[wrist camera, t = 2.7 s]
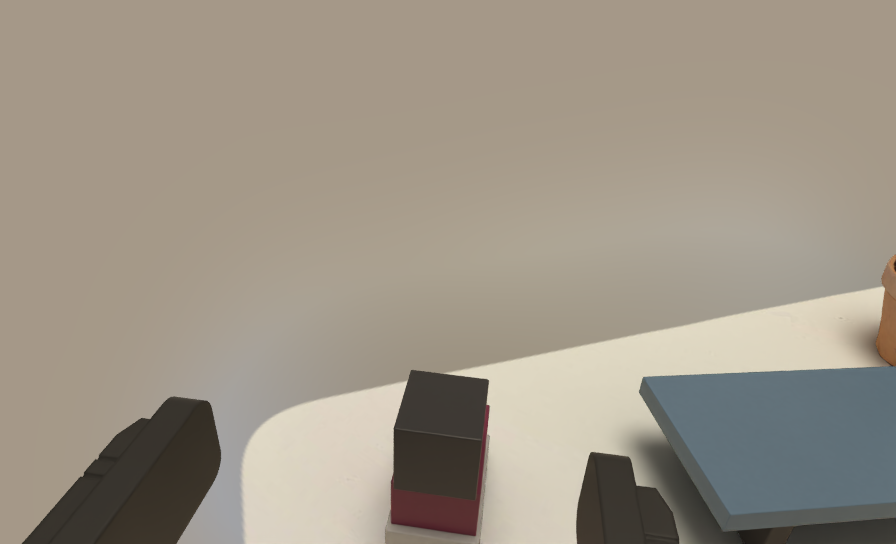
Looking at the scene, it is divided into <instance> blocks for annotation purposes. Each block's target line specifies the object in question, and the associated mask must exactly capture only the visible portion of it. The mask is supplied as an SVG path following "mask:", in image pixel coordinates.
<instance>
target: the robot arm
mask: <svg viewBox="0 0 896 544" xmlns="http://www.w3.org/2000/svg"><path fill="white" fill-rule="evenodd" d="M220 461H221V450H220V445H219V440H218V435H217V431H216V426H215V421H214V416H213V412H212V408H211V405H210V403H209V402H208V401H204V400H196V399H188V398H181V397H170V398H168V399H167V400H166V401H165V402H164V403H163V404H162V405H161V407H160V408H159V409H158V410H157V411H156V413H155V414H154V415H153V416H152V418H151V419H145V418H141V419H139V420H138V421H136V422H135V423H133V424H132V425H130V426H129V427H128V428H126V429H125V430H123V431H122V432H120V433H119V434H117V435H116V436H115V437H114V438H113V440H112V441H111V442H110V443H109V444H108V445H107V446H106V448H105V449H104V450H103V451H102V452H101V453H100V455H99V458H98V460H95V461H94V462H93V463H92V464H91V465H90V466H89V467H88V468H87V470H86V471H85V472H84V476H83V477H80V478H79V479H78V480H77V481H76V482H75V483H74V485H73V486H72V487H71V488H70V489H69V490H68V491H67V493H66V494H65V495H64V496H63V497H62V498H61V499H60V501H59V502H58V503H57V504H56V505H55V507H54V508H53V509H52V510H51V511H50V512H49V513H48V514H47V516H46V517H45V518H44V519H43V520H42V521H41V523H40V524H39V525H38V526H37V527H36V528H35V530H34V531H33V532H32V533H31V534H30V535H29V536H28V538H27V539H26V540H25V541H24V542H23V543H22V544H176V543H177V542H178V540H179V538H180V537H181V535H182V533H183V532H184V530H185V529H186V527H187V525H188V524H189V522H190V520H191V519H192V517H193V515H194V514H195V512H196V510H197V509H198V507H199V505H200V504H201V502H202V500H203V499H204V497H205V495H206V494H207V492H208V490H209V489H210V487H211V486H212V484H213V482H214V480H215V478H216V476H217V473H218V470H219V467H220ZM576 533H577V544H679V536H678V532H677V528H676V524H675V520H674V516H673V512H672V511H671V509H670V508H669V507H668V505H667V504H666V502H665V501H664V499H663V498H662V496H661V495H660V493H659V492H658V491H657V489H656V488H650V487H642V486H636V483H635V478H634V472H633V467H632V463H631V460H630V458H629V457H627V456H619V455H611V454H603V453H596V452H591V453H590V455H589V458H588V463H587V467H586V471H585V476H584V480H583V484H582V489H581V493H580V497H579V502H578V508H577V521H576Z"/></svg>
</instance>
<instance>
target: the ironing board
mask: <svg viewBox="0 0 896 544" xmlns="http://www.w3.org/2000/svg"><path fill="white" fill-rule="evenodd" d="M639 393H640V395H641V396H642V398H643V400H644V401H645V403H646V405H647V406H648V408H649V410H650V411H651V413H652V415H653V416H654V418H655V420H656V421H657V423H658V425H659V426H660V428H661V430H662V431H663V433H664V435H665V436H666V438H667V440H668V441H669V443H670V445H671V446H672V448H673V450H674V451H675V453H676V454H677V456H678V458H679V459H680V461H681V463H682V464H683V466H684V468H685V469H686V471H687V473H688V474H689V476H690V478H691V479H692V481H693V483H694V484H695V486H696V488H697V489H698V491H699V493H700V494H701V496H702V498H703V499H704V501H705V503H706V504H707V506H708V508H709V509H710V511H711V513H712V514H713V516H714V518H715V519H716V521H717V523H718V524H719V526H720V528H721V529H722V531H723V532H725V531H737V532H738V534H739V535H740V537H741V539H742V540H743V542H744V543H745V544H785V543H786V541H787V539H788V537H789V535H790V533H791V531H792V530H793V528H794V526H799V525H812V524H824V523H836V522H849V521H861V520H874V519H886V518H896V366H889V367H866V368H842V369H819V370H795V371H771V372H748V373H724V374H701V375H677V376H653V377H643V379H642V383H641V386H640V390H639Z"/></svg>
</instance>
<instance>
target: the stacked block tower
mask: <svg viewBox="0 0 896 544" xmlns="http://www.w3.org/2000/svg"><path fill="white" fill-rule="evenodd" d="M488 385H489V380H488V379H480V378H472V377H464V376H456V375H448V374H440V373H431V372H424V371H416V370H411V372H410V375H409V379H408V382H407V386H406V389H405V392H404V396H403V399H402V403H401V406H400V409H399V413H398V416H397V419H396V423H395V426H394V473H393V476H392V480H391V510H390V514H389V518H388V521H387V525H386V529H385V544H480V533H481V522H482V512H483V501H484V490H485V480H486V469H487V459H488V448H489V435H487V428H488V418H489V408H490V406H489V405H486V403H487V394H488Z"/></svg>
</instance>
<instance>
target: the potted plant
mask: <svg viewBox="0 0 896 544" xmlns="http://www.w3.org/2000/svg"><path fill="white" fill-rule="evenodd" d="M881 279H882V284H883V286H884V288H885V293H884V300H883V308H882V317H881V323H880V329H879V334H878V337H877V340H876V347H877V349H878V352H879V354H880V356H881V357H882V358H883V359H884V360H886V361H887V362H888V363H890V364H891V365H893V366H896V255H894V256H893V257H892V258H891V259H890V260H889V262H888V263H887V265H886V268H885V270H884V273H883V275H882V278H881Z"/></svg>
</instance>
